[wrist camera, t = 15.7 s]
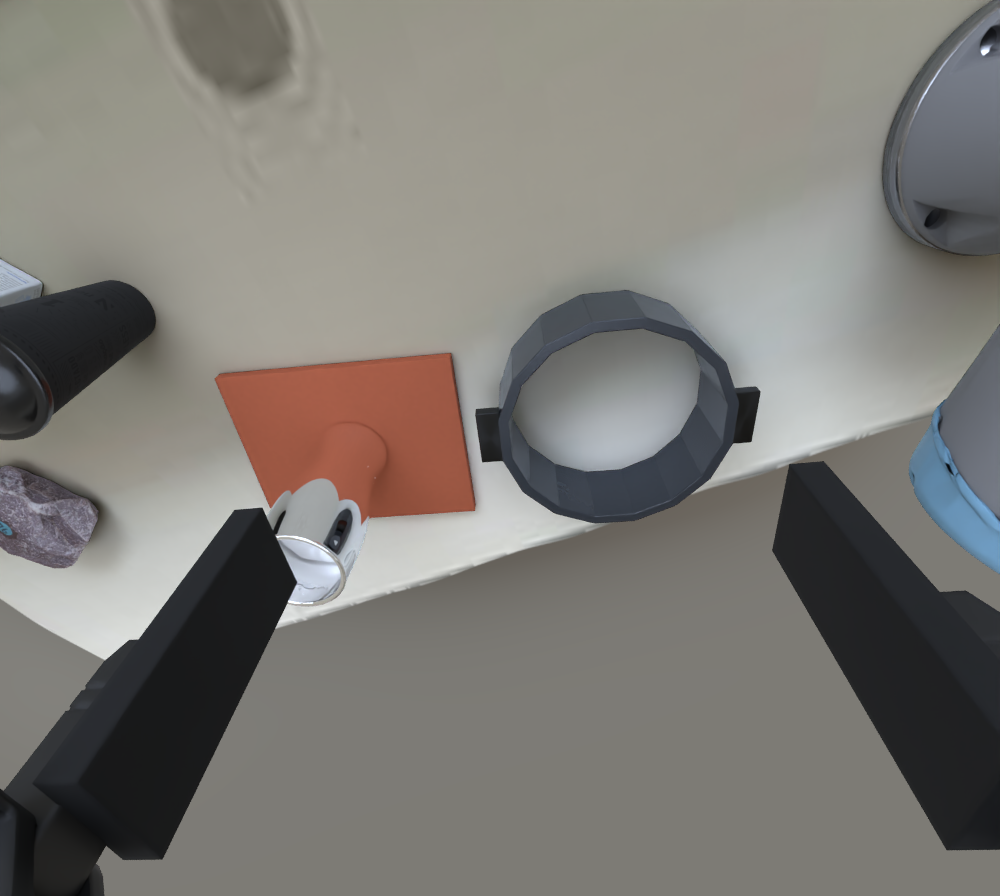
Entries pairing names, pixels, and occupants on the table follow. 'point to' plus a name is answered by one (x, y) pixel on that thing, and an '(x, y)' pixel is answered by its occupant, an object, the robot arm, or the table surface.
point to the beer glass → (328, 512)
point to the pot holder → (367, 401)
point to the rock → (43, 519)
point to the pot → (645, 483)
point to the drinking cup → (63, 349)
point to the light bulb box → (17, 285)
